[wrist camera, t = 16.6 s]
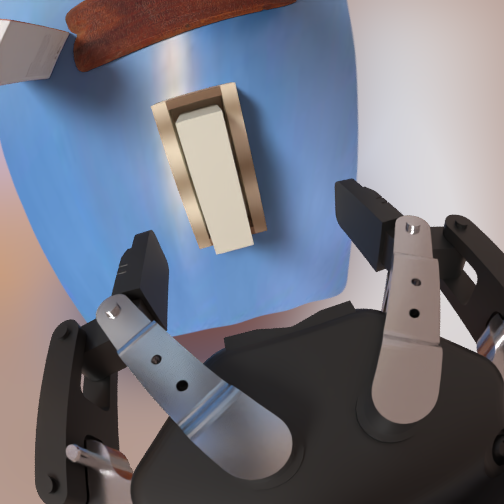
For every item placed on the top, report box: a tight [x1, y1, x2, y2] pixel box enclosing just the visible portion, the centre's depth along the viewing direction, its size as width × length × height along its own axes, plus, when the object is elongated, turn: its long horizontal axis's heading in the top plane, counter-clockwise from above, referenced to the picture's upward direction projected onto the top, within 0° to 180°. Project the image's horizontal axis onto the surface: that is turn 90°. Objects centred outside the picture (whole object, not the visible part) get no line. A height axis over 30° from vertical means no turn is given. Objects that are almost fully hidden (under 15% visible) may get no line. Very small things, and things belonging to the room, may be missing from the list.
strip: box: [175, 104, 254, 254], centre depth 28 cm, size 14×4×8 cm, turn 12°
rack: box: [151, 82, 267, 249], centre depth 31 cm, size 18×9×4 cm, turn 12°
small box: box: [0, 19, 69, 86], centre depth 13 cm, size 8×6×13 cm
